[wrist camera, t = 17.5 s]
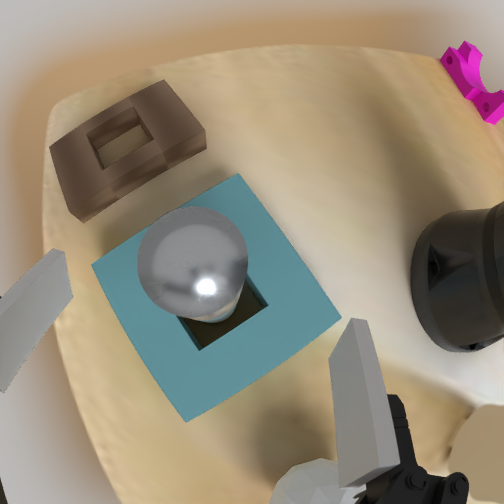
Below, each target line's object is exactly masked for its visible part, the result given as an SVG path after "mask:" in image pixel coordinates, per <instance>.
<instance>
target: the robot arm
mask: <svg viewBox="0 0 504 504" xmlns="http://www.w3.org/2000/svg"><path fill="white" fill-rule="evenodd" d="M411 287H412V295H413V300H414V305H415V308H416V312H417V315H418V317H419V320H420V322H421V324H422V326H423V328H424V330H425V331H426V333H427V334H428V336H429V337H430V338H431V339H432V340H433V341H434V342H435V343H436V344H437V345H438V346H440V347H441V348H443V349H445V350H447V351H450V352H475V351H478V350H481V349H483V348H485V347H487V346H489V345H491V344H493V343H495V342H497V341H499V340H501V339H503V338H504V201H503V202H502V203H500V204H498V205H496V206H494V207H493V208H490V209H478V210H466V211H455V212H451V213H448V214H446V215H444V216H442V217H440V218H439V219H437V220H435V221H434V222H432V223H431V224H430V225H428V226H427V227H426V228H425V230H424V231H423V232H422V234H421V236H420V237H419V239H418V242H417V244H416V247H415V250H414V254H413V259H412V266H411ZM72 298H73V295H72V290H71V285H70V280H69V275H68V270H67V264H66V259H65V252H63V251H60V250H56V249H52V250H51V251H50V252H48V253H47V254H46V255H45V256H44V257H43V258H42V259H41V260H40V261H39V262H37V263H36V264H35V265H34V266H33V267H32V268H31V269H30V270H29V271H28V272H27V273H26V274H25V275H24V276H23V277H21V278H20V279H19V280H18V281H17V282H16V283H15V285H13V287H11V288H10V289H9V290H8V291H7V293H5V294H4V296H3V297H1V296H0V391H1V392H2V393H5V391H6V390H7V388H8V386H9V385H10V383H11V382H12V380H13V379H14V377H15V375H16V374H17V372H18V371H19V369H20V368H21V366H22V365H23V363H24V362H25V361H26V359H27V357H28V356H29V355H30V353H31V352H32V351H33V349H34V348H35V346H36V345H37V344H38V342H39V340H40V339H41V338H42V337H43V335H44V334H45V333H46V331H47V330H48V328H49V327H50V326H51V325H52V323H53V322H54V321H55V319H56V318H57V317H58V316H59V314H60V313H61V312H62V311H63V309H64V308H65V307H66V306H67V304H68V303H69V302H70V301H71V299H72ZM329 368H330V376H331V386H332V395H333V406H334V417H335V429H336V443H337V458H338V478H339V489H350V488H358V487H360V486H362V485H364V484H366V490H364V491H362V492H360V493H358V494H356V495H355V496H354V497H353V498H354V499H356V498H358V497H359V498H358V500H357V501H356V502H355V503H354V504H466V502H467V497H468V491H469V483H468V480H467V478H466V476H465V475H464V474H462V473H460V472H455V473H453V474H451V475H449V476H447V477H441V476H434V475H429V474H427V472H426V470H425V469H424V468H422V467H420V466H418V464H417V462H416V458H415V453H414V448H413V443H412V439H411V434H410V429H409V428H408V426H409V425H408V421H407V419H406V412H405V408H404V405H403V403H402V402H401V400H400V399H399V397H398V396H397V395H392V394H387V393H386V389H385V385H384V381H383V377H382V373H381V369H380V365H379V361H378V358H377V354H376V350H375V347H374V343H373V340H372V336H371V333H370V329H369V326H368V322H367V320H362V319H356V318H351V319H350V321H349V323H348V325H347V327H346V329H345V330H344V332H343V334H342V336H341V338H340V339H339V341H338V343H337V345H336V347H335V348H334V350H333V352H332V353H331V355H330V357H329ZM0 504H8V503H7V500H6V497H5V493H4V490H3V486H2V483H1V479H0Z"/></svg>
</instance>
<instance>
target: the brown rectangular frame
mask: <svg viewBox="0 0 504 504" xmlns="http://www.w3.org/2000/svg"><path fill="white" fill-rule="evenodd" d="M139 124H141V126H142V128H143V129H144V131H145V133H146V134H147V136H148V137H149V139H150V141H151V142H149V143H147V144H145V145H143V146H142V147H140V148H138V149H136V150H135V151H133V152H131V153H130V154H128V155H126V156H125V157H123V158H121V159H120V160H118V161H117V162H115V163H113V164H112V165H110V166H109V167H107V168H106V169H105V168H104V166H103V164H102V162H101V160H100V157H99V155H98V153H97V151H96V150H97V149H98V148H100V147H102V146H103V145H105V144H106V143H108V142H110V141H111V140H113V139H114V138H116V137H118V136H120V135H121V134H123V133H125V132H126V131H128V130H130V129H132V128H133V127H135V126H137V125H139ZM206 148H207V146H206V136H205V129H204V128H203V127H202V125H201V124H200V123H199V122H198V120H197V119H196V118H195V117H194V115H193V114H192V113H191V112H190V110H189V109H188V108H187V107H186V105H185V104H184V103H183V102H182V101H181V99H180V98H179V97H178V96H177V94H176V93H175V92H174V91H173V89H172V88H171V87H170V86H169V85H168V83H167V82H166V81H165V80H162V81H160V82H157V83H155V84H153V85H151V86H149V87H147V88H145V89H143V90H141V91H139V92H137V93H135V94H133V95H131V96H129V97H127V98H125V99H124V100H122V101H120V102H118V103H116V104H115V105H113V106H111V107H109V108H108V109H106V110H104V111H102V112H101V113H99V114H97V115H96V116H94V117H93V118H91V119H89V120H88V121H86V122H85V123H83V124H81V125H80V126H78V127H77V128H75V129H74V130H72V131H71V132H69V133H68V134H66V135H65V136H64V137H62V138H61V139H59V140H58V141H57V142H55V143H54V144H52V145H51V146H50V147H49V149H50V152H51V156H52V160H53V163H54V167H55V170H56V173H57V177H58V180H59V183H60V186H61V189H62V192H63V195H64V198H65V201H66V204H67V207H68V209H69V212H70V213H71V214H73V215H74V216H75V217H76V218H78V219H79V220H80V221H81V222H82V223H85V222H86V221H88V220H89V219H91V218H92V217H93V216H95V215H96V214H98V213H99V212H101V211H102V210H104V209H105V208H107V207H108V206H110V205H111V204H113V203H114V202H116V201H117V200H119V199H120V198H122V197H123V196H125V195H126V194H128V193H130V192H131V191H133V190H134V189H136V188H138V187H139V186H141V185H142V184H144V183H146V182H147V181H149V180H151V179H152V178H154V177H156V176H157V175H159V174H161V173H163V172H164V171H166V170H168V169H170V168H171V167H173V166H175V165H177V164H178V163H180V162H182V161H184V160H186V159H188V158H189V157H191V156H193V155H195V154H197V153H199V152H201V151H202V150H204V149H206Z"/></svg>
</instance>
